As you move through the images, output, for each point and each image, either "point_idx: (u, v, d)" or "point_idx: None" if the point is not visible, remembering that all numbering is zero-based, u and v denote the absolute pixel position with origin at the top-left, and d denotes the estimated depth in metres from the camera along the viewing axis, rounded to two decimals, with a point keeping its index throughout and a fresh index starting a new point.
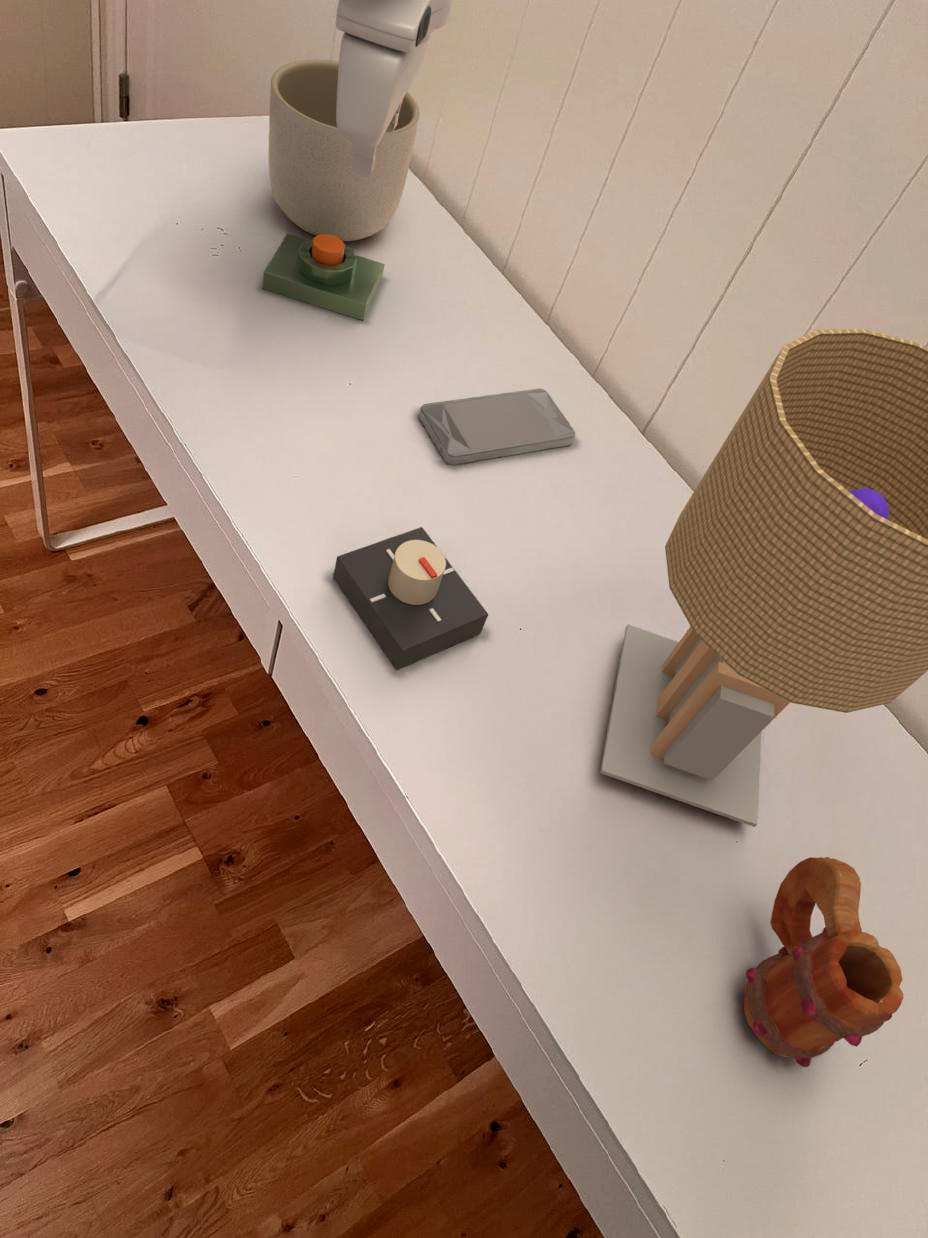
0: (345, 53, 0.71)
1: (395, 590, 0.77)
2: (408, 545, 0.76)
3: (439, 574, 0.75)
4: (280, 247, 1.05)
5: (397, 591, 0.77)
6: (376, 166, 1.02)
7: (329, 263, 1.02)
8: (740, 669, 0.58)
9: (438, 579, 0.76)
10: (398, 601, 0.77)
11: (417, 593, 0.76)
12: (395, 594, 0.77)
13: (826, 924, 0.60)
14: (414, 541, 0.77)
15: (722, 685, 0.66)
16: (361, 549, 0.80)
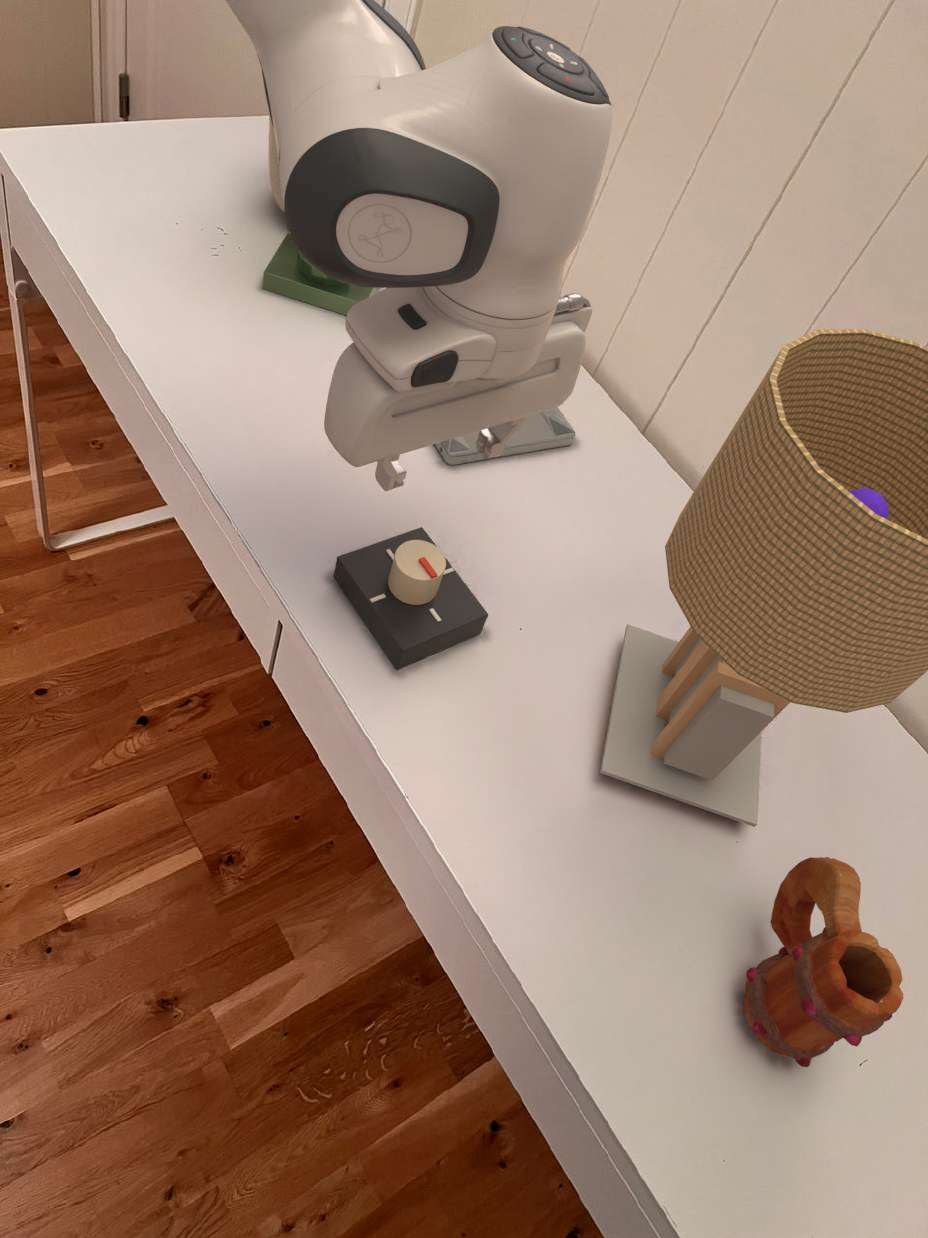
0: (342, 360, 0.57)
1: (395, 590, 0.77)
2: (408, 545, 0.76)
3: (439, 574, 0.75)
4: (280, 247, 1.05)
5: (397, 591, 0.77)
6: None
7: None
8: (740, 669, 0.58)
9: (438, 579, 0.76)
10: (398, 601, 0.77)
11: (417, 593, 0.76)
12: (395, 594, 0.77)
13: (826, 924, 0.60)
14: (414, 541, 0.77)
15: (722, 685, 0.66)
16: (361, 549, 0.80)
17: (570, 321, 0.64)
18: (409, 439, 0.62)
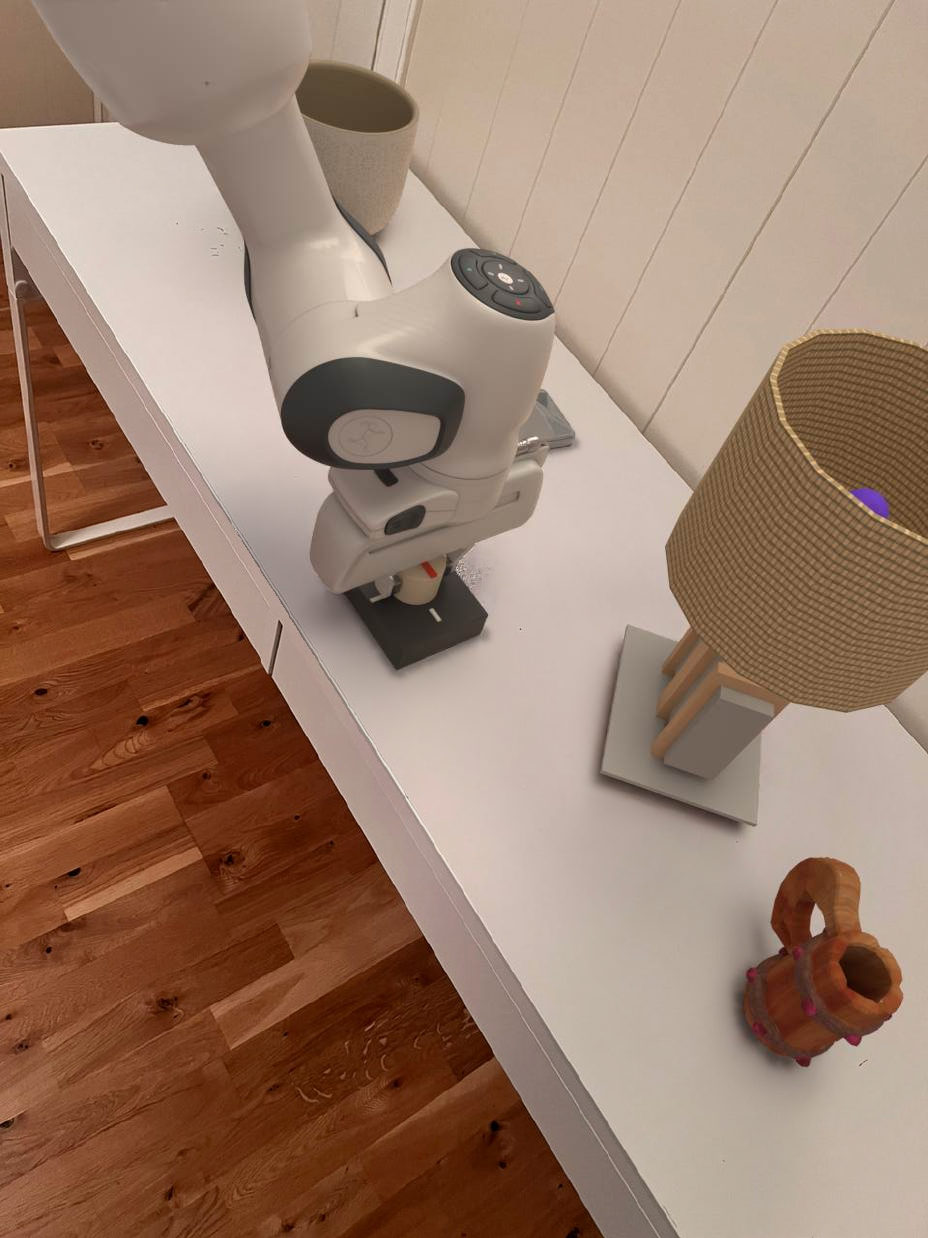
0: (324, 506, 0.65)
1: None
2: None
3: (439, 574, 0.75)
4: None
5: None
6: (376, 166, 1.02)
7: None
8: (740, 669, 0.58)
9: (438, 579, 0.76)
10: (398, 601, 0.77)
11: (417, 593, 0.76)
12: (395, 594, 0.77)
13: (826, 924, 0.60)
14: None
15: (722, 685, 0.66)
16: None
17: (529, 459, 0.72)
18: (385, 568, 0.70)
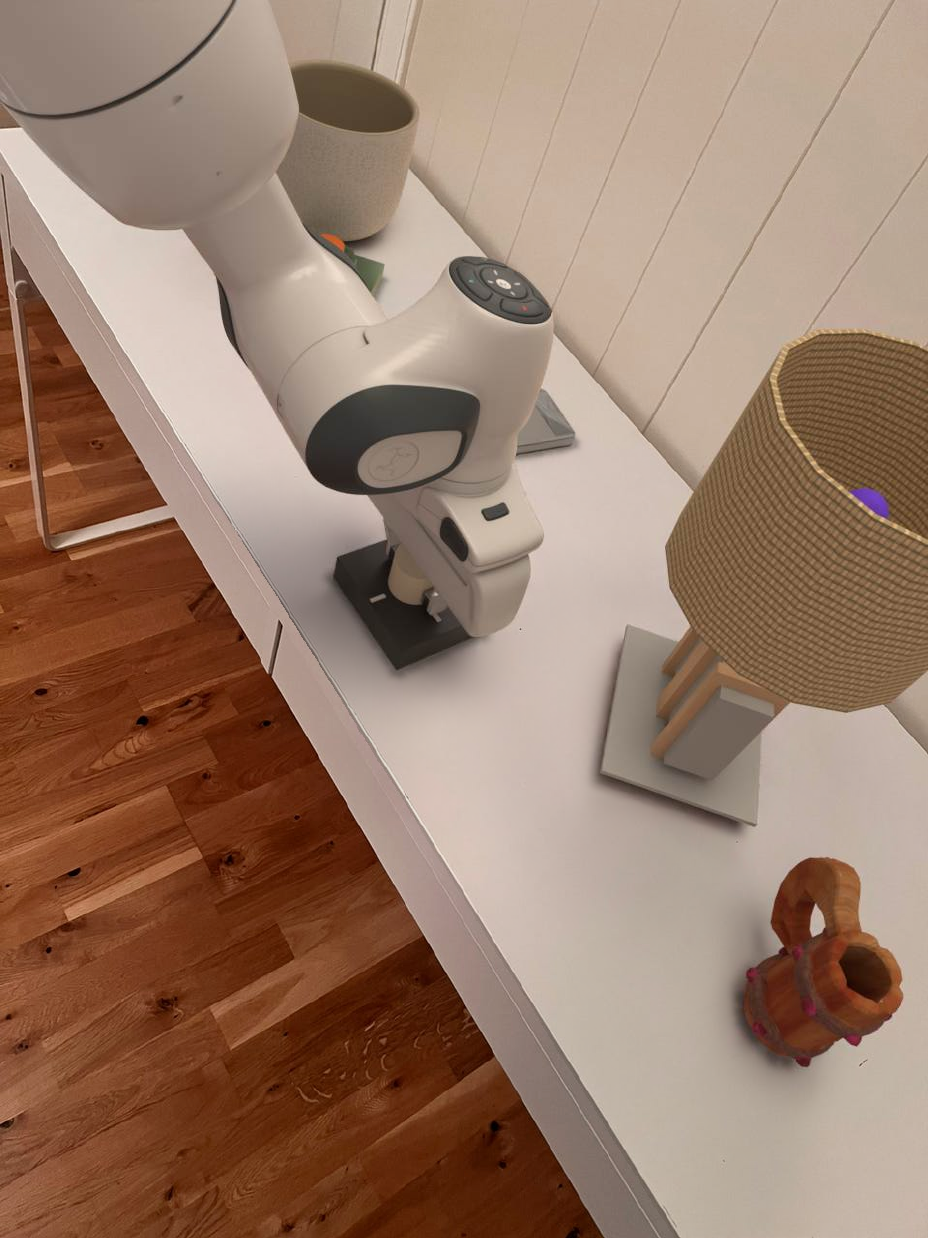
0: (486, 587, 0.65)
1: None
2: (403, 566, 0.75)
3: None
4: None
5: None
6: (376, 166, 1.02)
7: None
8: (740, 669, 0.58)
9: None
10: (398, 601, 0.77)
11: None
12: None
13: (826, 924, 0.60)
14: (397, 560, 0.75)
15: (722, 685, 0.66)
16: (361, 549, 0.80)
17: None
18: None
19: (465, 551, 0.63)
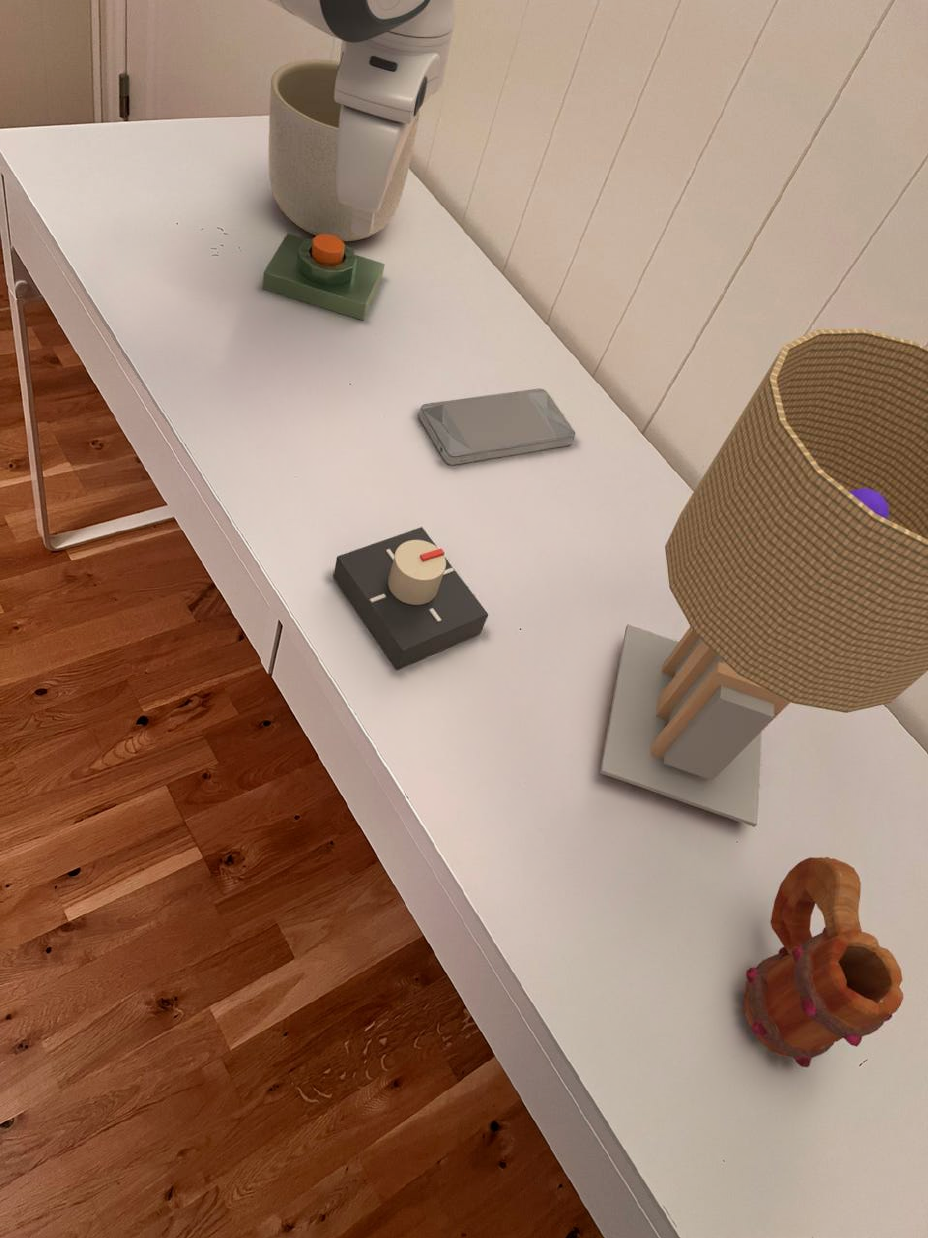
0: (345, 125, 0.71)
1: (430, 596, 0.77)
2: (403, 566, 0.75)
3: (437, 548, 0.77)
4: (280, 247, 1.05)
5: (431, 595, 0.77)
6: None
7: (329, 263, 1.02)
8: (740, 669, 0.58)
9: None
10: (398, 601, 0.77)
11: None
12: (430, 599, 0.78)
13: (826, 924, 0.60)
14: (397, 560, 0.75)
15: (722, 685, 0.66)
16: (361, 549, 0.80)
17: None
18: (390, 175, 0.78)
19: None
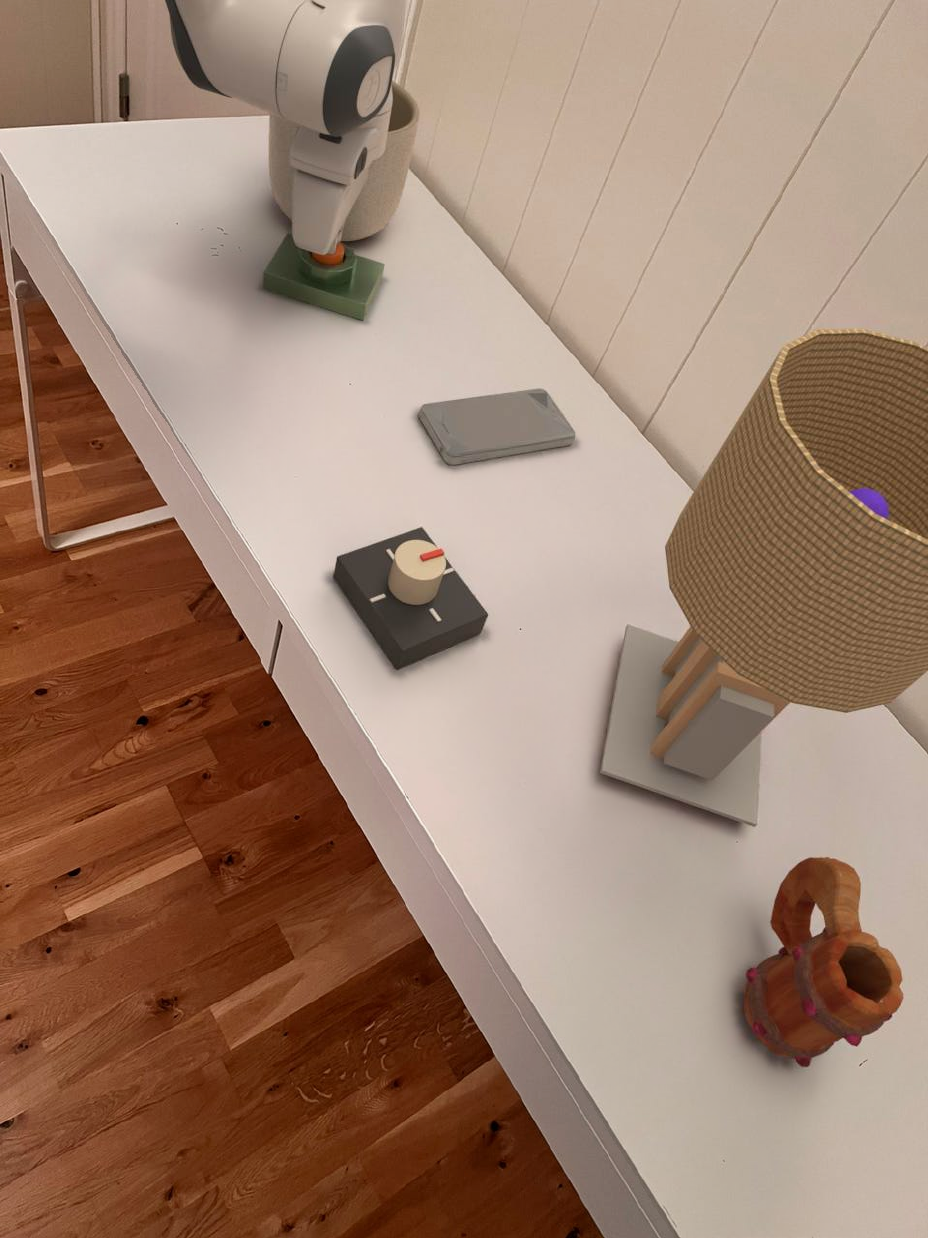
0: (298, 185, 0.88)
1: (430, 596, 0.77)
2: (403, 566, 0.75)
3: (437, 548, 0.77)
4: (280, 247, 1.05)
5: (431, 595, 0.77)
6: (376, 166, 1.02)
7: None
8: (740, 669, 0.58)
9: None
10: (398, 601, 0.77)
11: None
12: (430, 599, 0.78)
13: (826, 924, 0.60)
14: (397, 560, 0.75)
15: (722, 685, 0.66)
16: (361, 549, 0.80)
17: None
18: (339, 223, 0.94)
19: None
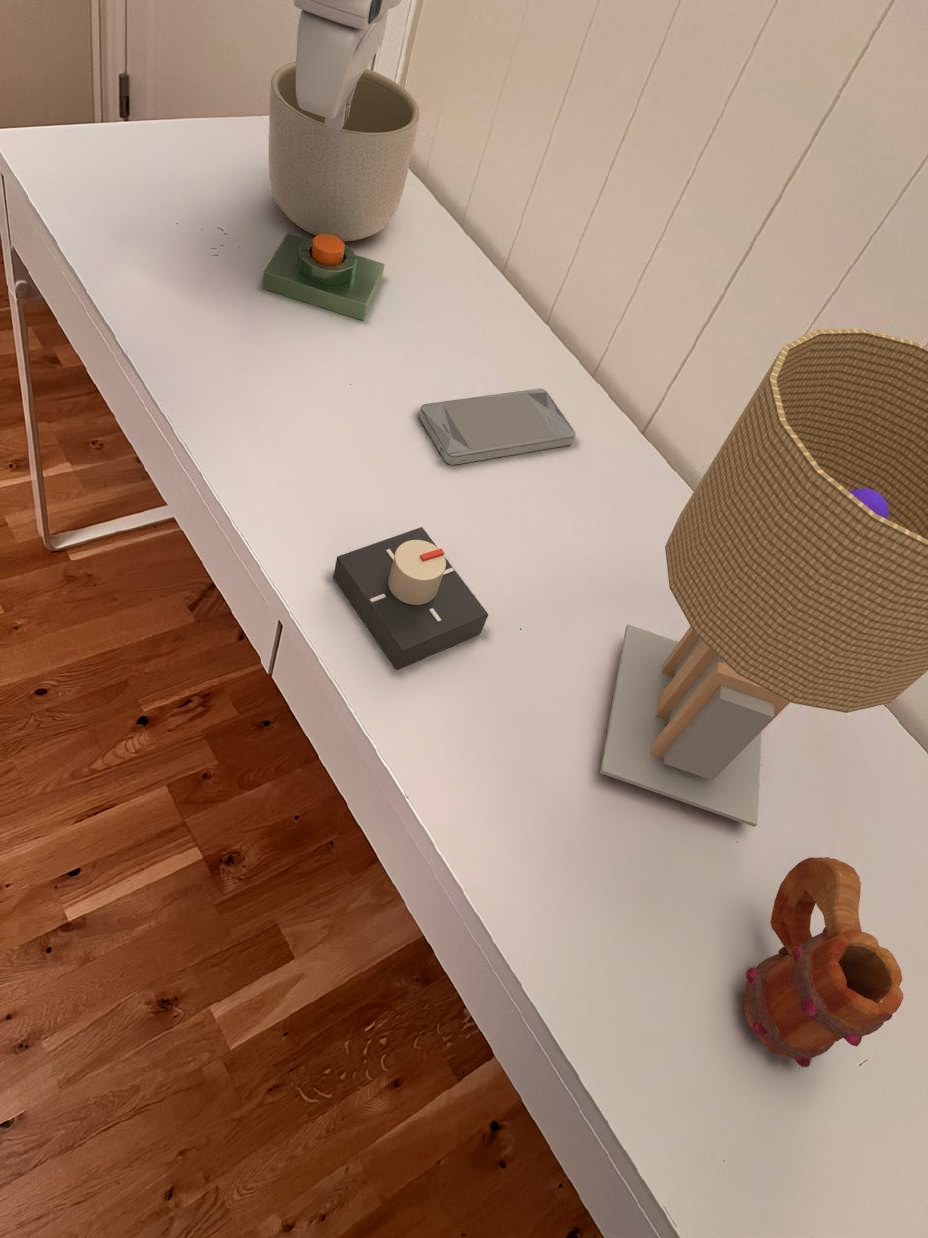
0: (303, 29, 0.76)
1: (430, 596, 0.77)
2: (403, 566, 0.75)
3: (437, 548, 0.77)
4: (280, 247, 1.05)
5: (431, 595, 0.77)
6: (376, 166, 1.02)
7: (329, 263, 1.02)
8: (740, 669, 0.58)
9: None
10: (398, 601, 0.77)
11: None
12: (430, 599, 0.78)
13: (826, 924, 0.60)
14: (397, 560, 0.75)
15: (722, 685, 0.66)
16: (361, 549, 0.80)
17: None
18: (349, 85, 0.83)
19: None
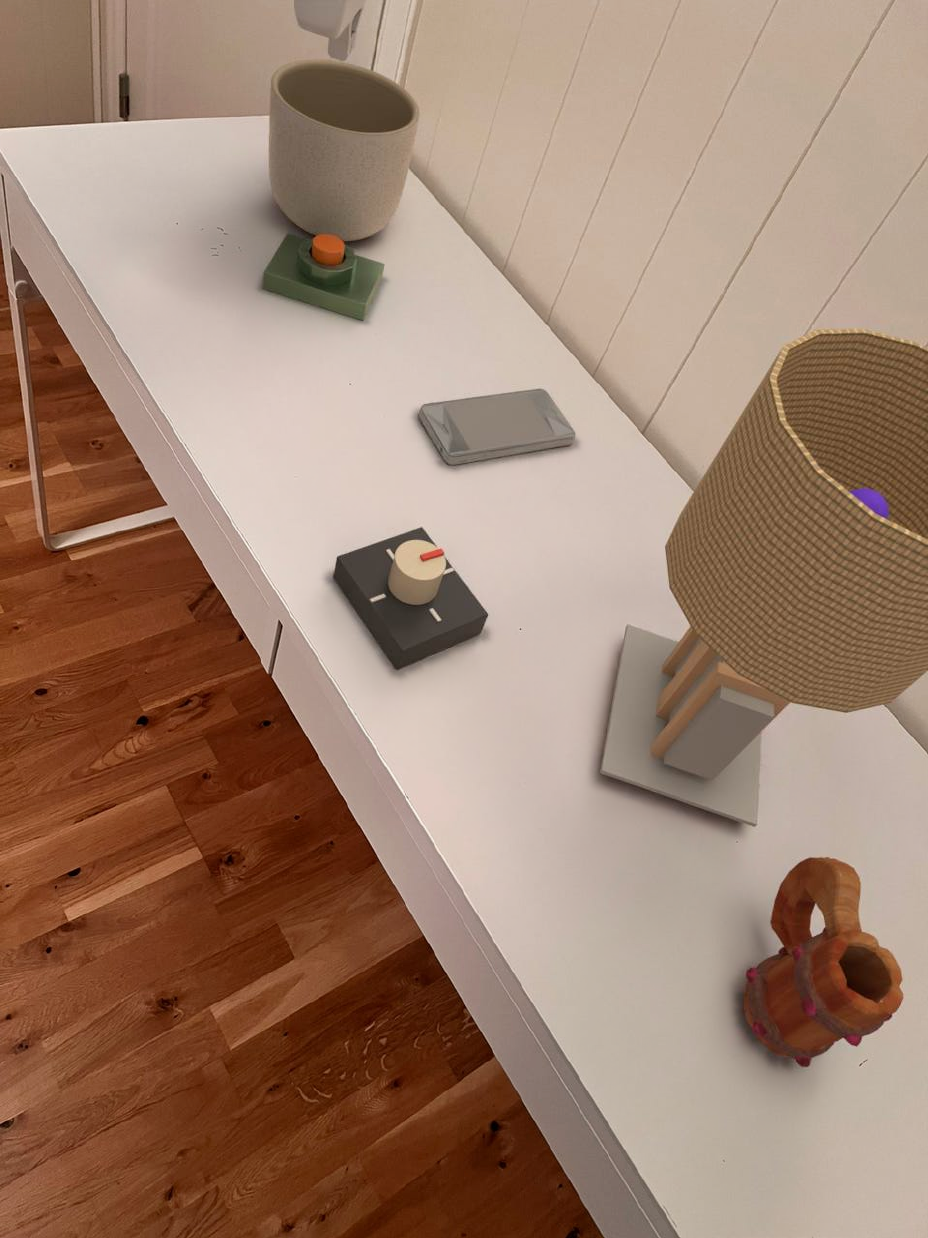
0: None
1: (430, 596, 0.77)
2: (403, 566, 0.75)
3: (437, 548, 0.77)
4: (280, 247, 1.05)
5: (431, 595, 0.77)
6: (376, 166, 1.02)
7: (329, 263, 1.02)
8: (740, 669, 0.58)
9: None
10: (398, 601, 0.77)
11: None
12: (430, 599, 0.78)
13: (826, 924, 0.60)
14: (397, 560, 0.75)
15: (722, 685, 0.66)
16: (361, 549, 0.80)
17: None
18: (354, 3, 0.74)
19: None
